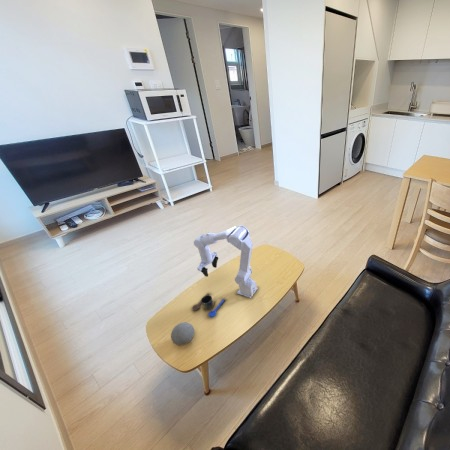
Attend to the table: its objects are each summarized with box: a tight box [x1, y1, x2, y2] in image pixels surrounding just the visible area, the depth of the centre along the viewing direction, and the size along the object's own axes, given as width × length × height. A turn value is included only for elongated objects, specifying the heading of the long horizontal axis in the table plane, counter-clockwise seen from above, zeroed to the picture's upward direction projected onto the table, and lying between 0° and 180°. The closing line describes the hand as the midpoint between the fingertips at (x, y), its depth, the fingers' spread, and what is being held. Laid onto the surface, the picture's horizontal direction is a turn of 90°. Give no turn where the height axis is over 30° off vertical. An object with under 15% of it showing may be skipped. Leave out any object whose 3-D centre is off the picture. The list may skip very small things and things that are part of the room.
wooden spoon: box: [192, 293, 210, 312], centre depth 133 cm, size 12×4×1 cm, turn 158°
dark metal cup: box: [200, 294, 215, 311], centre depth 130 cm, size 6×6×6 cm
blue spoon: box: [208, 298, 226, 318], centre depth 130 cm, size 12×4×1 cm, turn 158°
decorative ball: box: [170, 321, 195, 346], centre depth 113 cm, size 10×10×10 cm
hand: (210, 271), depth 140 cm, fingers open, 7 cm apart
